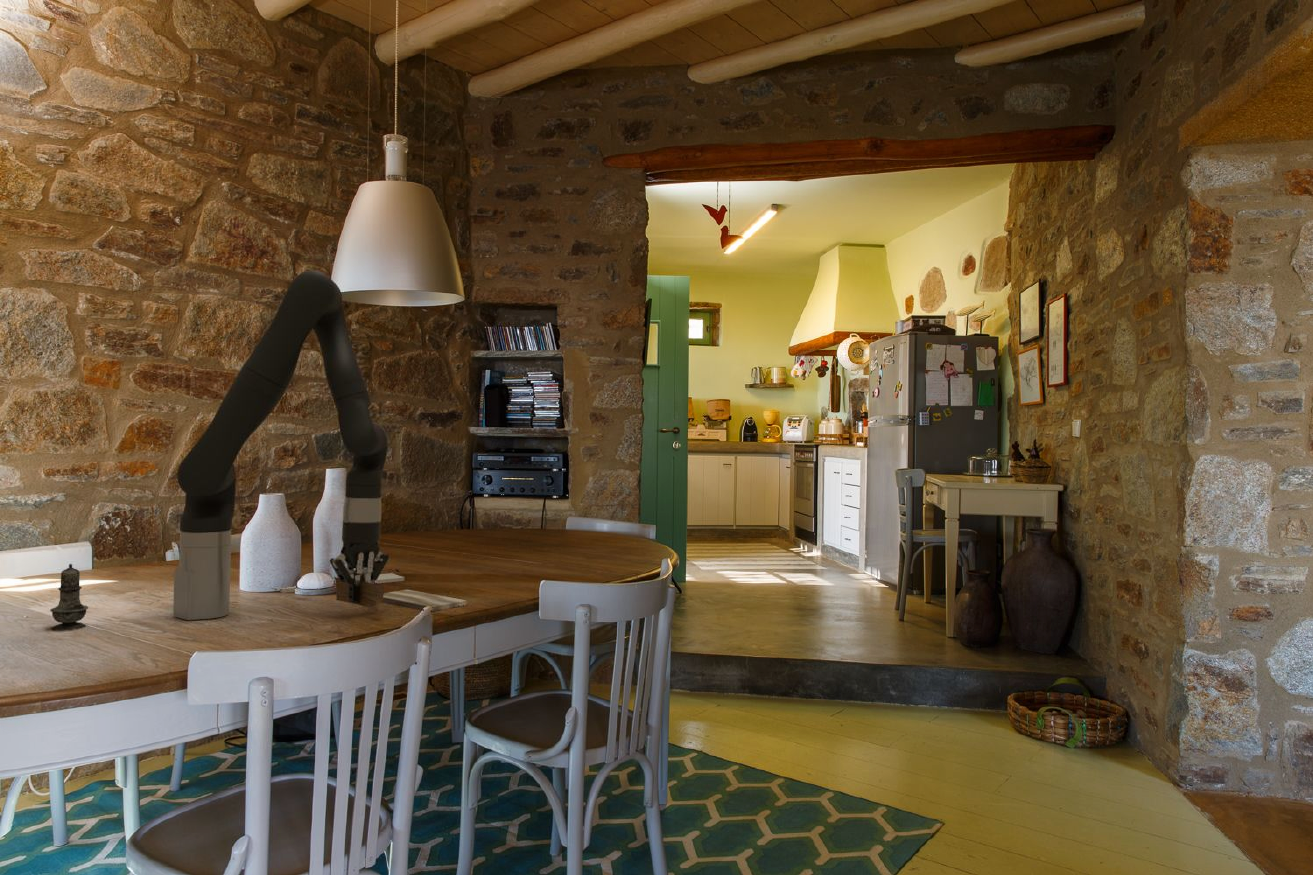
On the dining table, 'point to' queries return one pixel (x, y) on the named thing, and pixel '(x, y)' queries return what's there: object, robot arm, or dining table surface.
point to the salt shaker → (69, 602)
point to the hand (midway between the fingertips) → (358, 602)
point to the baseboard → (381, 579)
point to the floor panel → (421, 600)
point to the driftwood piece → (361, 593)
